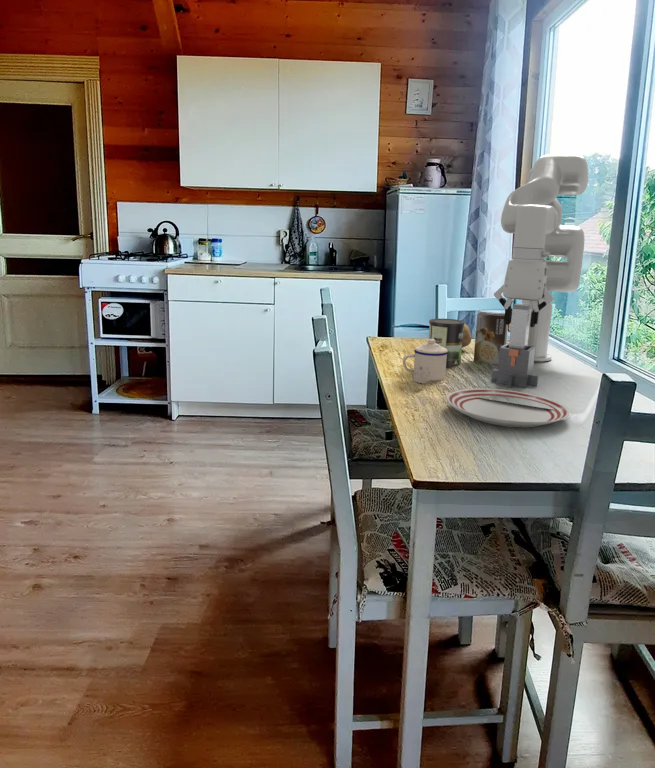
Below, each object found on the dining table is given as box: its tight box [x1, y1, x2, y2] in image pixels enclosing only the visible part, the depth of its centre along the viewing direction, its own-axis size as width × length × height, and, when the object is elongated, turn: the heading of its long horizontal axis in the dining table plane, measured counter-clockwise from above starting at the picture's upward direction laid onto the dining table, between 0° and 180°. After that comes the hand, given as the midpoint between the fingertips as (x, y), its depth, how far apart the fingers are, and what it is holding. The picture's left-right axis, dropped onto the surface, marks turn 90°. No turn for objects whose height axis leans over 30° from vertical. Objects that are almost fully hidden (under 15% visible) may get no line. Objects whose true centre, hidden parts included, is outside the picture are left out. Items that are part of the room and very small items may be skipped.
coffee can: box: [428, 318, 465, 371], centre depth 193 cm, size 10×10×14 cm
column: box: [508, 303, 532, 350], centre depth 169 cm, size 5×4×21 cm
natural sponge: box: [462, 322, 472, 349], centre depth 220 cm, size 9×9×10 cm
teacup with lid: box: [402, 338, 448, 385], centre depth 175 cm, size 12×9×12 cm
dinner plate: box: [445, 388, 570, 428], centre depth 148 cm, size 27×27×3 cm
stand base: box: [491, 342, 539, 389], centre depth 171 cm, size 12×12×11 cm
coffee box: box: [473, 311, 509, 366], centre depth 197 cm, size 9×6×16 cm
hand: (520, 324), depth 168 cm, fingers open, 5 cm apart
